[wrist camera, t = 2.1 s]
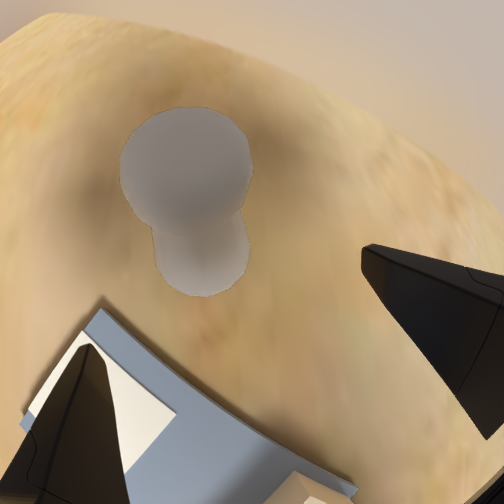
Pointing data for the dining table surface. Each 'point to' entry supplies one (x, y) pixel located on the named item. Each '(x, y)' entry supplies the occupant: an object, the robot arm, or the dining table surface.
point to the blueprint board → (189, 435)
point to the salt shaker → (191, 196)
